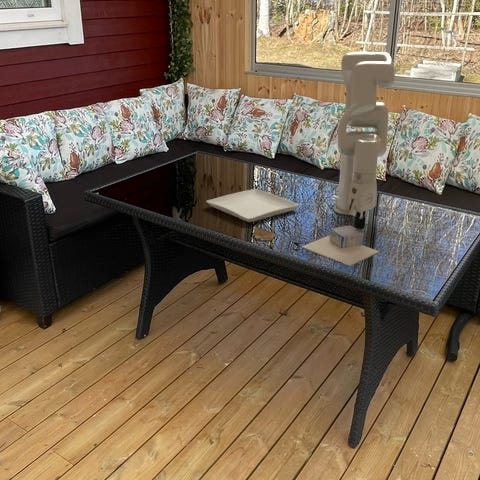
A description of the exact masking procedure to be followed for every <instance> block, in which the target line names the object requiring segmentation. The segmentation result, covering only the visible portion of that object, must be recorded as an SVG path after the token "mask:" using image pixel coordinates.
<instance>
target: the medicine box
mask: <svg viewBox="0 0 480 480" xmlns="http://www.w3.org/2000/svg"><path fill="white" fill-rule="evenodd" d="M329 235H330V240H331V241H332V242H333V243H335V244H336V245H338V246H339V247H341V248H345V247H351V246H356V245H363V243H364V232H362V230H360V229H357V228H355V227H354V226H352V225H350V224H349V225H345V226H343V225H342V226H337V227H331V228H330V229H329Z"/></svg>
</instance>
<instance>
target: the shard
mask: <svg viewBox="0 0 480 480" xmlns="http://www.w3.org/2000/svg"><path fill="white" fill-rule="evenodd" d="M253 236H255V237H254V239H255V238H260V239H268V240H267V241H269V240H271V241H272V240H273V239H274V238H275V237H276V236H277V234H276V233H275V232H273V231H270V230H267V229H265V228H262V227H259V226H256V225H255V230H254V234H253Z"/></svg>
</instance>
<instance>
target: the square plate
mask: <svg viewBox="0 0 480 480" xmlns="http://www.w3.org/2000/svg"><path fill="white" fill-rule="evenodd" d="M205 202H206V204H207V203H208V205H209V206H211V207H212V208H215V209H217V210H219V211H221V212H224V213H226V214H228V215H231V216H233V217H236V218H237V217H238V219H240V220H242V221H245V222H247V223H252V222H257V221H260V220H264V219H267V218H270V217H273V216H274V217H275V216H277V215H281V214H285V213H288V212H291V211H294V210H295V209H297V208H298V207H300V204H299V203H296V202H295V201H291V200H289V199H287V198H284V197H281V196H279V195H276V194H273V193H270V192H267V191H264V190H261V189H258V188H251V189H247V190H244V191H238V192H233V193H230V194H226V195H222V196H219V197H215V198H212V199H207V200H206V201H205Z"/></svg>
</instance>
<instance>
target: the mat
mask: <svg viewBox="0 0 480 480" xmlns="http://www.w3.org/2000/svg"><path fill="white" fill-rule="evenodd" d="M301 249H304V250H307V251H309V252H312V253H315V254H317V255H320V256H321V257H324V258H327V259H329V258H330V259H329V260H332V259H333V260H332V261H334V260H335V262H337V261H338V262H337V263H339V262H341V263H340V264H342V263H343V265H345V266H347V265H348V267H351V266H353V265H354V266H355V265H356V264H357V263H360V262H362V261H365V260H366V259H368V258H371V257H373V256H375V255H377V254H379V253H380V251H379V250H376V249H374V248H371V247H368V246H365V245H363V244H362V245H356V246H351V247H345V248H341V247H339V246H338V245H336V244H335V243H333V242H332V241H331V240H330V234H329V235H326V236H325V237H322V238H320V239H317V240H315V241H311V242H309V243H307V244H304V245H302V246H301Z"/></svg>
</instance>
